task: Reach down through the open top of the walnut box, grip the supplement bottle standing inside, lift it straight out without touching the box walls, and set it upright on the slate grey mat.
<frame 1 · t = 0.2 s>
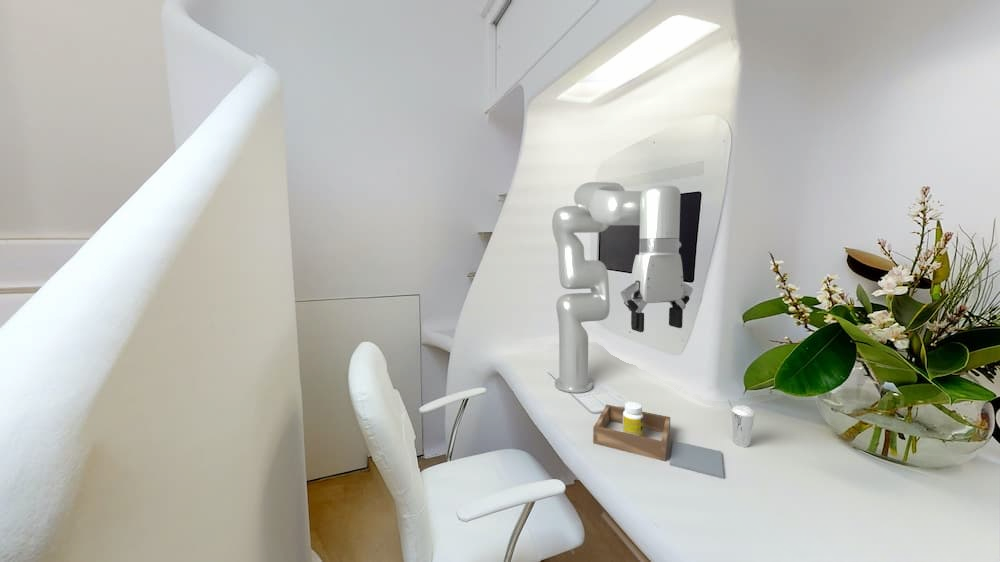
hand: (656, 328, 77), 30 cm above the table, tool pointing down, fingers open, 9 cm apart
supplement bottle: (632, 438, 91), resting in walnut box
walnut box: (632, 437, 90), on the table
slate mat: (696, 459, 81), on the table
milkshake: (739, 443, 87), on the table
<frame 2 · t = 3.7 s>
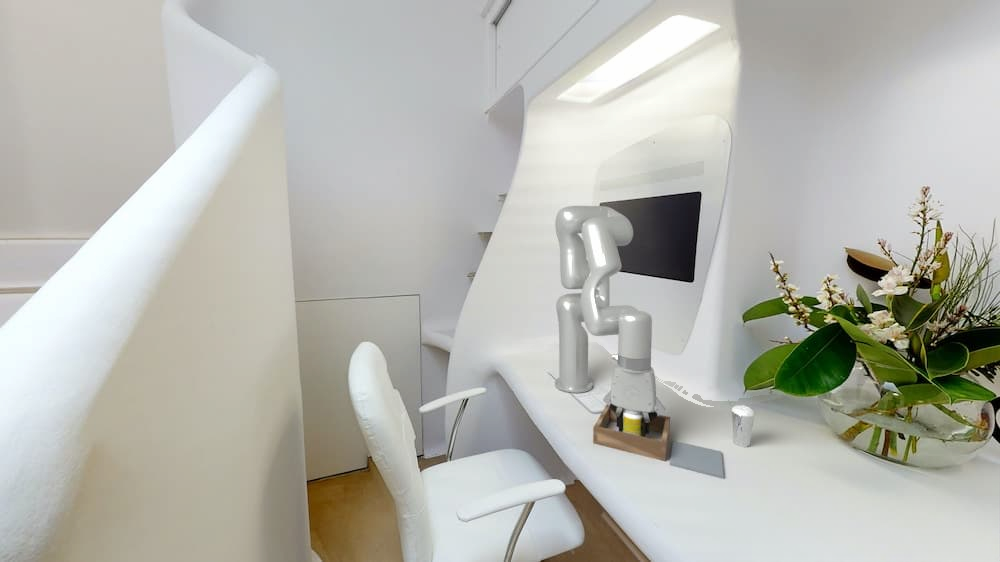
hand: (632, 432, 90), 1 cm above the table, tool pointing down, fingers closed on supplement bottle, 4 cm apart
supplement bottle: (632, 438, 90), resting in walnut box, touching gripper
everything else where it was.
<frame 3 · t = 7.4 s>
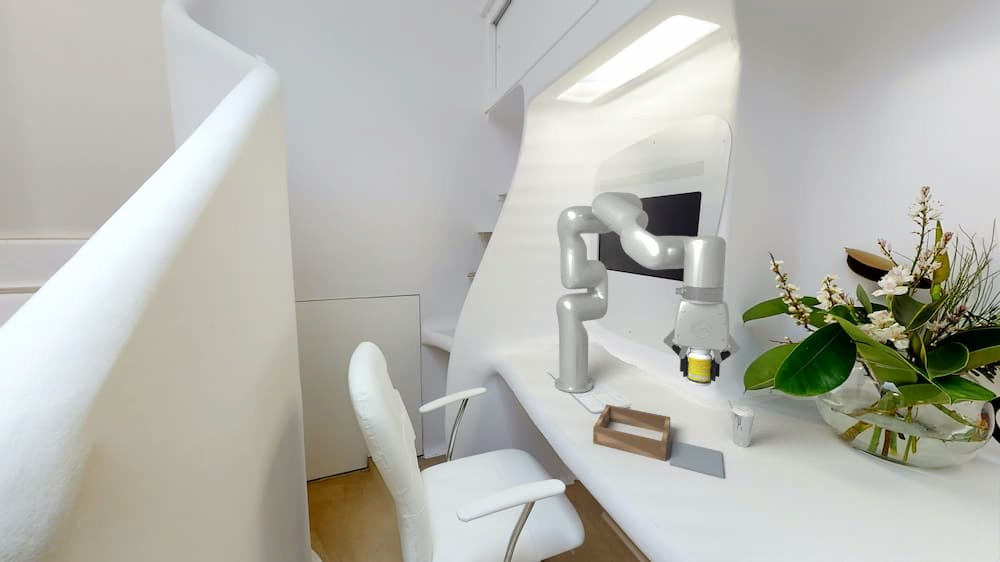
hand: (698, 376, 79), 19 cm above the table, tool pointing down, fingers closed on supplement bottle, 4 cm apart
supplement bottle: (698, 383, 79), point 18 cm above the table, touching gripper
everything else where it was.
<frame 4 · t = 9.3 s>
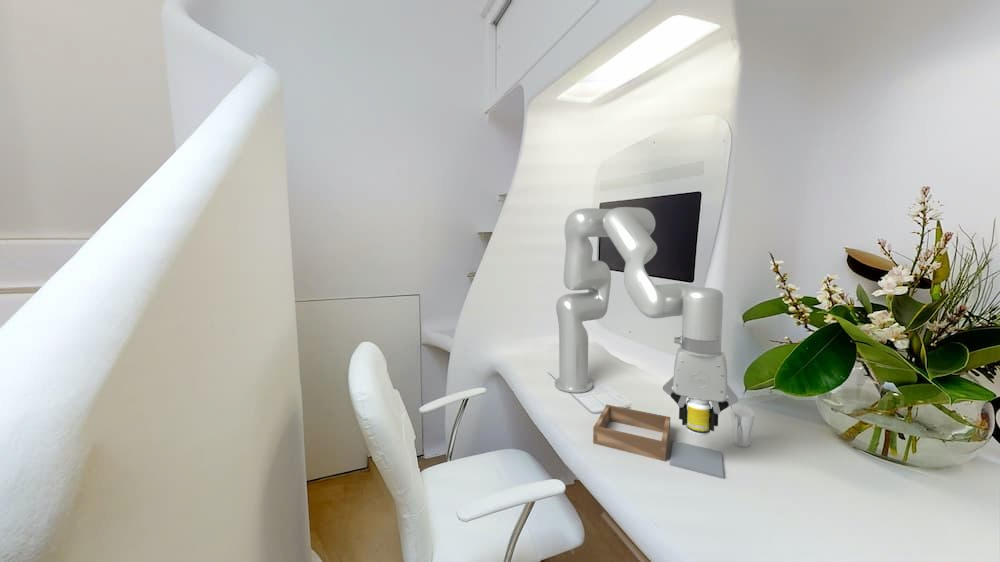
hand: (697, 424, 80), 8 cm above the table, tool pointing down, fingers closed on supplement bottle, 4 cm apart
supplement bottle: (697, 431, 80), point 7 cm above the table, touching gripper
everything else where it was.
when the fingers open (3 cm above the table, at t = 11.1 s): supplement bottle drops 1 cm, resting on slate mat.
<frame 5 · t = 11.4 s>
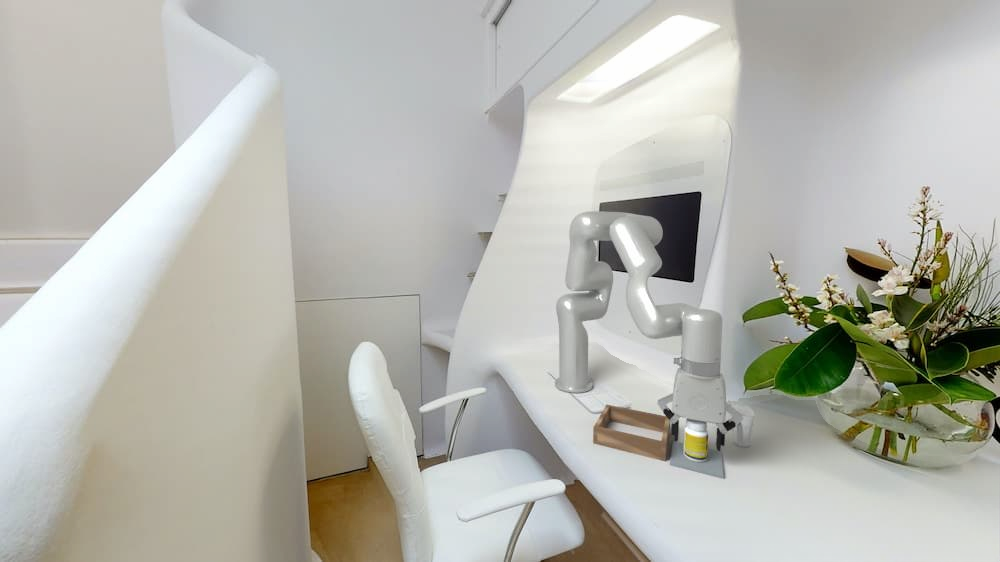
hand: (696, 442, 81), 4 cm above the table, tool pointing down, fingers open, 7 cm apart
supplement bottle: (694, 457, 81), resting on slate mat
everything else where it was.
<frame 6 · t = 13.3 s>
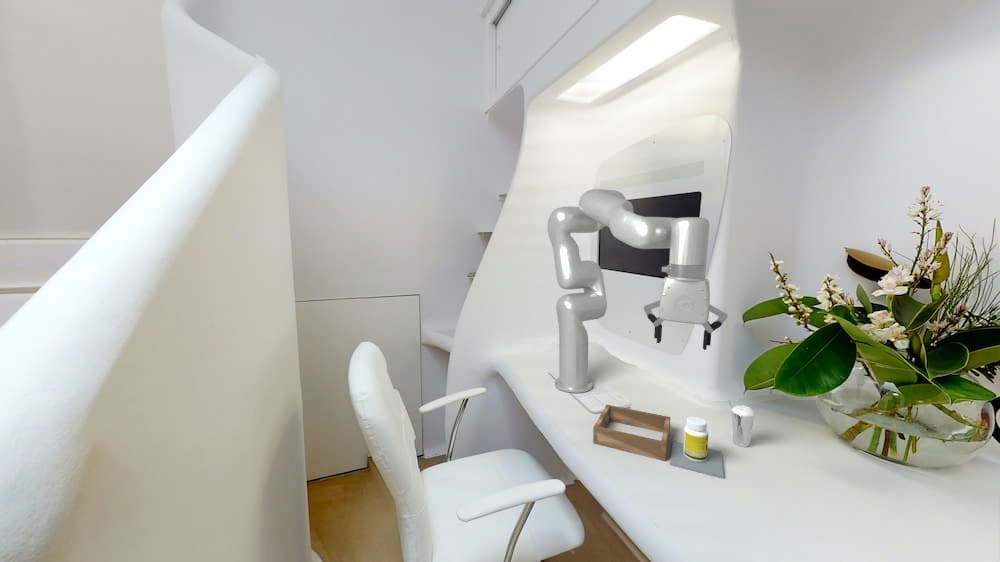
hand: (681, 344, 85), 24 cm above the table, tool pointing down, fingers open, 9 cm apart
nothing on the table moved.
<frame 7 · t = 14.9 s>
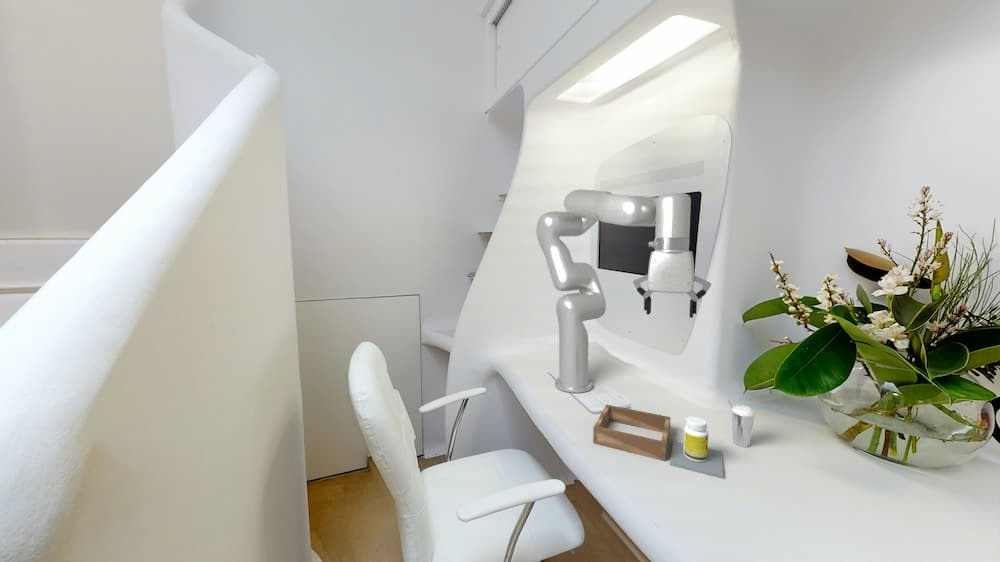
hand: (669, 315, 90), 30 cm above the table, tool pointing down, fingers open, 9 cm apart
nothing on the table moved.
at the end: supplement bottle inside the target area on the slate mat (0.2 cm from its centre), point 0.3 cm above the slate mat's base; supplement bottle tilted 0°; walnut box moved 0.0 cm from its start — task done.
